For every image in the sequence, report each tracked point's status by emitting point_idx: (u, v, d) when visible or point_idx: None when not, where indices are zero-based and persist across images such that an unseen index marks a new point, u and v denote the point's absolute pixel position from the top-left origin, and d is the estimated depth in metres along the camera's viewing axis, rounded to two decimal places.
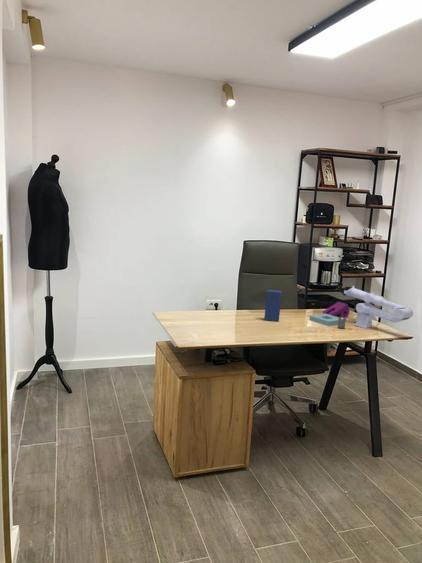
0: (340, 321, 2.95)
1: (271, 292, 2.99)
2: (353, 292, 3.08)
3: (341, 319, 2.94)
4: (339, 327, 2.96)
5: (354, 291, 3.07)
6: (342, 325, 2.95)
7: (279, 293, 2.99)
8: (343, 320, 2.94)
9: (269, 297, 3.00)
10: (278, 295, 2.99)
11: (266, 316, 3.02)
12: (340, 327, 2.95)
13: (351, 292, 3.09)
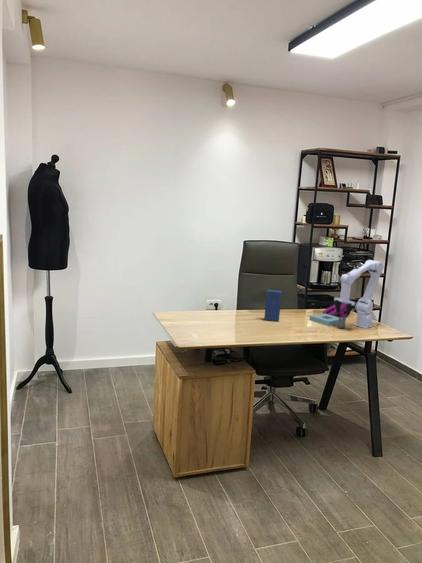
0: (340, 321, 2.95)
1: (271, 292, 2.99)
2: (347, 297, 2.91)
3: (341, 319, 2.94)
4: (339, 327, 2.96)
5: (346, 296, 2.91)
6: (342, 325, 2.95)
7: (279, 293, 2.99)
8: (343, 320, 2.94)
9: (269, 297, 3.00)
10: (278, 295, 2.99)
11: (266, 316, 3.02)
12: (340, 327, 2.95)
13: (348, 299, 2.92)
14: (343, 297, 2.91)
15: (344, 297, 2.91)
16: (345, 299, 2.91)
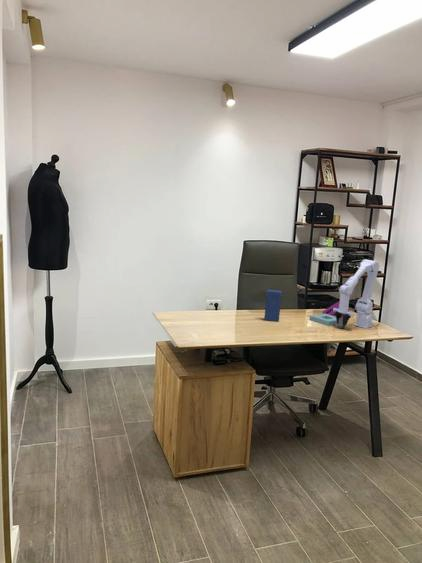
0: (340, 321, 2.95)
1: (271, 292, 2.99)
2: (346, 308, 2.92)
3: (341, 319, 2.94)
4: (339, 327, 2.96)
5: (345, 307, 2.92)
6: (342, 325, 2.95)
7: (279, 293, 2.99)
8: (343, 320, 2.94)
9: (269, 297, 3.00)
10: (278, 295, 2.99)
11: (266, 316, 3.02)
12: (340, 327, 2.95)
13: (346, 310, 2.93)
14: (342, 308, 2.92)
15: (343, 308, 2.92)
16: (344, 310, 2.92)
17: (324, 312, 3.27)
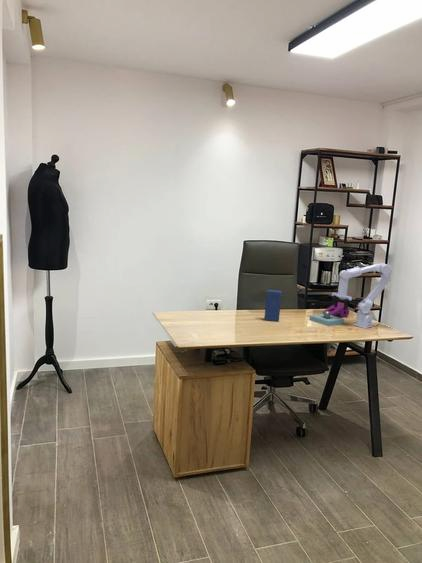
0: (325, 315, 3.09)
1: (271, 292, 2.99)
2: (345, 292, 3.02)
3: (326, 313, 3.08)
4: None
5: (344, 291, 3.02)
6: None
7: (279, 293, 2.99)
8: (328, 314, 3.08)
9: (269, 297, 3.00)
10: (278, 295, 2.99)
11: (266, 316, 3.02)
12: None
13: (345, 294, 3.02)
14: (341, 292, 3.02)
15: (342, 292, 3.02)
16: (343, 294, 3.02)
17: None
